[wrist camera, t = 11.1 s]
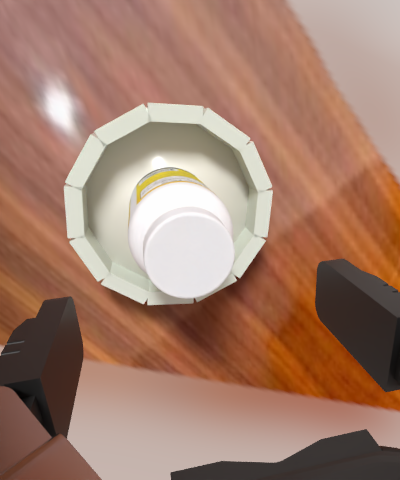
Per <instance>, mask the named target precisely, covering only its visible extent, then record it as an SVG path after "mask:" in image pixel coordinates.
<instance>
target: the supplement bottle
mask: <svg viewBox="0 0 400 480" xmlns="http://www.w3.org/2000/svg"><path fill="white" fill-rule="evenodd" d="M128 243H129V248H130V251H131V254H132V256H133V258H134V260H135V262H136V263H137V265H138V266H139V267H140V268H141V269H142V271H144V272H145V273H146V274H147V275H148V277H149V278H150V280H151V281H152V283H153V284H154V285H155V286H156V287H157V288H158V289H159V290H161V291H162V292H164V293H166V294H168V295H170V296H173V297H177V298H184V299H190V298H197V297H201V296H204V295H206V294H208V293H210V292H212V291H214V290H215V289H216V288H218V287H219V286H220V285H221V284H222V283H223V282H224V281H225V280H226V278H227V277H228V275H229V273H230V272H231V269H232V267H233V264H234V259H235V248H234V242H233V224H232V220H231V217H230V214H229V212H228V210H227V208H226V206H225V205H224V204H223V202H222V201H221V200H220V198H219V197H218V196H217V195H216V194H215V193H214V192H212V191H211V190H210V189H209V188H208V187H207V186H206V185H205V184H204V183H203V182H201V181H200V180H199V179H198V178H197V177H196V176H195V175H193V174H192V173H190V172H188V171H186V170H183V169H180V168H175V167H164V168H159V169H156V170H154V171H151V172H150V173H148V174H146V175H145V176H144V177H143V178H142V179H141V180H140V181H139V182H138V183H137V185H136V186H135V188H134V190H133V192H132V195H131V199H130V204H129V220H128Z"/></svg>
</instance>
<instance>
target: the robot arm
mask: <svg viewBox="0 0 400 480" xmlns="http://www.w3.org/2000/svg"><path fill="white" fill-rule="evenodd" d="M315 305H316V311H317V314H318V317H319V319H320V320H321V322H322V323H323V324H324V325H325V326H326V327H327V328H328V329H329V330H330V332H331V333H332V334H333V335H334V336H335V337H336V338H337V339H338V340H339V341H340V343H341V344H342V345H343V346H344V347H345V348H346V349H347V350H348V351H349V352H350V354H351V355H352V356H353V357H354V358H355V359H356V360H357V361H358V362H359V363H360V365H361V366H362V367H363V368H364V369H365V370H366V371H367V372H368V373H369V374H370V376H371V377H372V378H373V379H374V380H375V381H376V382H377V383H378V384H379V385H380V387H381V388H382V389H383V390H384V391H385V392H389V391H394V390H399V389H400V292H398V290H396V289H395V288H393V287H392V286H388V284H387V283H386V282H384V281H383V280H381V279H380V278H378V277H377V276H374V275H372V274H369V273H366V272H364V271H361V270H360V269H358V268H357V267H355V266H354V265H352V264H351V263H350V262H348V261H347V260H345V259H336V260H329V261H322V262H320V263H319V265H318V268H317V283H316V300H315ZM82 362H83V342H82V337H81V332H80V328H79V323H78V319H77V314H76V310H75V305H74V302H73V299H72V297H64V298H57V299H50V300H45V301H44V302H43V304H42V306H41V308H40V310H39V312H38V314H37V316H36V318H32V319H27V320H25V321H24V322H23V323H22V324H21V325H20V326H18V327H17V328H16V329H15V330H14V331H13V333H12V334H11V336H10V338H9V340H8V342H7V345H5V347H4V349H3V351H2V352H1V356H0V480H102V479H101V478H100V477H99V476H98V475H97V474H96V472H95V471H94V470H93V469H92V468H91V467H90V466H89V464H88V463H87V462H86V461H85V460H84V459H83V457H82V456H81V455H80V454H79V453H78V452H77V450H76V449H75V448H74V447H73V446H72V445H71V443H70V442H69V441H68V440H67V435H68V430H69V425H70V420H71V415H72V410H73V405H74V401H75V396H76V390H77V386H78V381H79V377H80V371H81V367H82ZM171 480H400V449H398V448H392V447H385V446H378V444H377V443H376V441H375V440H374V439H373V437H372V436H371V435H370V433H369V432H368V431H367V430H366V429H365V430H361V431H356V432H352V433H347V434H343V435H338V436H334V437H330V438H325V439H321V440H319V441H317V442H315V443H314V444H312V445H310V446H308V447H306V448H305V449H303V450H301V451H299V452H297V453H296V454H294V455H292V456H290V457H288V458H286V459H284V460H283V461H280V462H277V463H262V462H230V461H221V462H216V463H212V464H207V465H203V466H198V467H194V468H189V469H184V470H180V471H175V472H171Z"/></svg>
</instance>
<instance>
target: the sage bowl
mask: <svg viewBox="0 0 400 480" xmlns="http://www.w3.org/2000/svg"><path fill="white" fill-rule="evenodd" d="M94 132H95V133H93V134H91V135H90V137H89V138H88V140H87V142H86V144H85V146H84V148H83V149H82V151H81V153H80V155H79V157H78V159H77V161H76V162H75V164H74V166H73V168H72V170H71V172H70V173H69V175H68V177H67V179H66V181H65V183H67V184H66V185H65V186H64V195H65V209H66V222H67V235H68V238H71V240H70V244H71V245H72V247H73V248H74V249H75V251H76V252H77V254H78V255H79V256H80V258H81V259H82V261H83V262H84V263H85V265H86V266H87V268H88V269H89V270H90V272H91V273H92V274H93V276H94V277H95V279H96V280H97V281H100V280H102V282H101V285H103V286H105V287H108V288H110V289H112V290H114V291H116V292H118V293H120V294H123V295H125V296H127V297H129V298H131V299H133V300H135V301H138V302H140V303H142V304H144V303H145V302H146V300H147V304H148V305H164V304H191V303H194V298H190V299H184V298H177V297H173V296H170V295H168V294H166V293H164V292H162V291H161V290H159V289H158V288H157V287H156V286H155V285H154V284H153V283H152V281H151V280H150V278H149V277H148V275H147V274H146V273H145V272H144V271H142V269H141V268H140V267H139V266H138V265H137V263H136V262H135V260H134V258H133V256H132V254H131V251H130V248H129V243H128V220H129V204H130V199H131V195H132V192H133V190H134V188H135V186H136V185H137V183H138V182H139V181H140V180H141V179H142V178H143V177H144V176H145V175H146V174H148V173H150V172H151V171H154V170H156V169H159V168H164V167H175V168H180V169H183V170H186V171H188V172H190V173H192V174H193V175H195V176H196V177H197V178H198V179H199V180H200V181H201V182H203V183H204V184H205V185H206V186H207V187H208V188H209V189H210V190H211V191H212V192H214V193H215V194H216V195H217V196H218V197H219V198H220V200H221V201H222V202H223V204H224V205H225V206H226V208H227V210H228V212H229V214H230V217H231V220H232V224H233V242H234V248H235V259H234V264H233V267H232V269H231V272H230V273H229V275H228V277H227V278H226V280H225V281H224V282H223V283H222V284H221V285H220V286H219V287H218V288H216V289H215V290H214V291H212V292H210V293H208V294H206V295H204V296H201V297H197V298H195V300H196V301H197V302H199V301H201V300H202V299H204V298H206V297H208V296H210V295H212V294H214V293H215V292H217V291H219V290H221V289H223V288H225V287H226V286H228V285H230V284H232V283H234V282H236V281H237V280H236V278H235V276H237V277H239V278H240V277H241V276H242V275H243V273H244V272H245V270H246V269H247V267H248V266H249V264H250V263H251V262H252V260H253V259H254V257H255V256H256V254H257V253H258V252H259V250H260V249H261V247H262V246H263V244H264V243H265V242H266V240H265V239H264V238H263V237H268V228H269V220H270V211H271V203H272V195H273V191H272V190H270V189H269V188H271V187H272V185H271V182H270V180H269V178H268V175H267V173H266V171H265V168H264V166H263V164H262V161H261V159H260V157H259V154H258V152H257V149H256V147H255V145H254V142H253V141H249V140H250V138H249V137H248V136H247V135H245V134H244V133H242V132H241V131H240V130H238V129H237V128H235V127H234V126H233V125H231V124H230V123H228V122H227V121H226V120H224V119H223V118H221V117H220V116H219V115H217V114H216V113H214V112H213V111H212V110H210V109H209V108H203V106H193V105H177V104H161V103H148V104H147V108H145V106H144V104H142V105H140V106H138V107H137V108H135V109H133V110H131V111H129V112H127V113H126V114H124V115H122V116H120V117H118V118H117V119H115V120H113V121H111V122H109V123H107V124H106V125H104V126H102V127H100V128H98V129H97V130H95V131H94ZM234 275H235V276H234Z"/></svg>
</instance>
